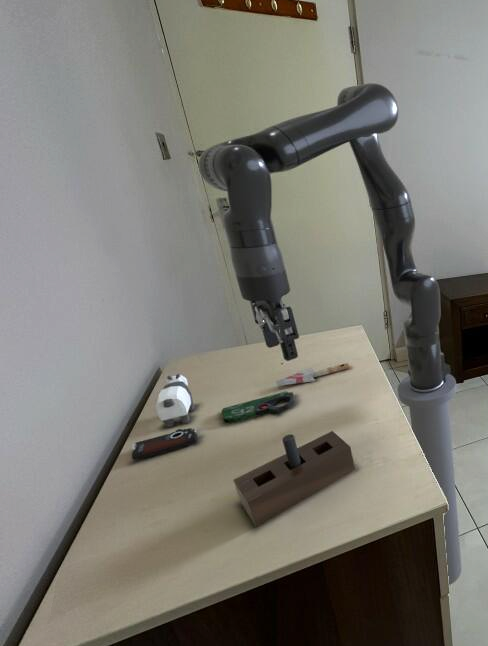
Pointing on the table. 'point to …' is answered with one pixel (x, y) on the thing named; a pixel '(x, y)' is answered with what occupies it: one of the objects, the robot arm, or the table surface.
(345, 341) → the table surface
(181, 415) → the giant panda
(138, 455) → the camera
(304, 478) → the pen stand
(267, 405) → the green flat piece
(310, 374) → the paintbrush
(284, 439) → the stylus
